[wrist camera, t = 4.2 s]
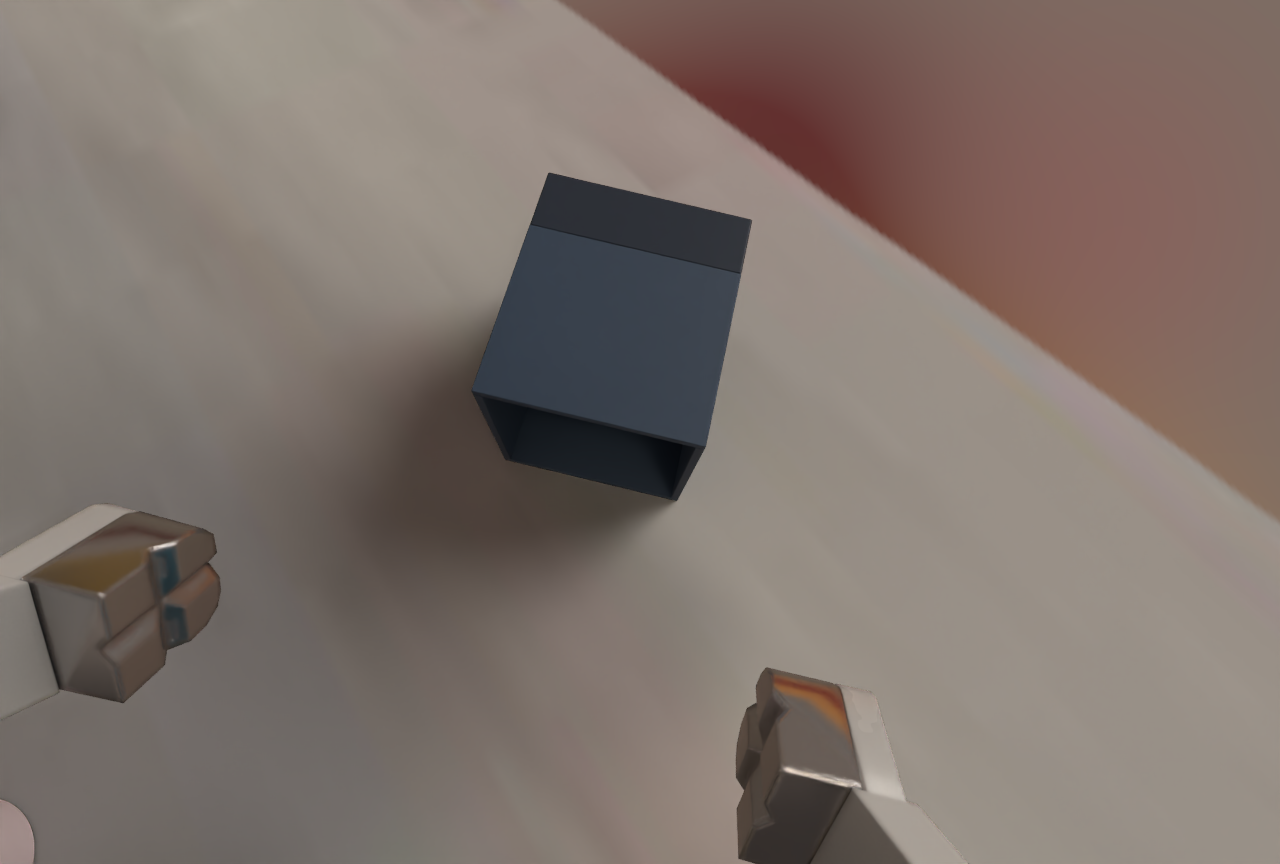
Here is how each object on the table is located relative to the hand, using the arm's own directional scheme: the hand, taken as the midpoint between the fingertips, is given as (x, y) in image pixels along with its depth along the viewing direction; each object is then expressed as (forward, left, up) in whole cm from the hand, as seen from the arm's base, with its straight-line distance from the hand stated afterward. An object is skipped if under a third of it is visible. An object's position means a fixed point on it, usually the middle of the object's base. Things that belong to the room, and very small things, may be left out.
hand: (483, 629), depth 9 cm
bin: (+3, +9, -12) cm, 15 cm away
